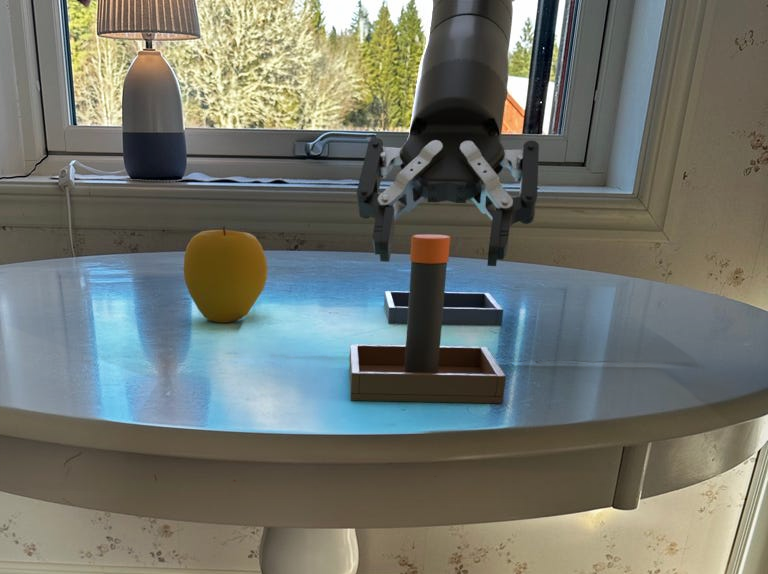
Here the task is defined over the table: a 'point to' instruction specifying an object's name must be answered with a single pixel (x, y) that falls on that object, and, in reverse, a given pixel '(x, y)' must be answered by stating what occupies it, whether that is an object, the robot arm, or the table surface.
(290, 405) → the table surface
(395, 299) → the grey tray
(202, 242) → the apple
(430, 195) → the robot arm
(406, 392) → the walnut tray
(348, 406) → the table surface
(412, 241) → the marker
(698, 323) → the table surface
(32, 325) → the table surface
